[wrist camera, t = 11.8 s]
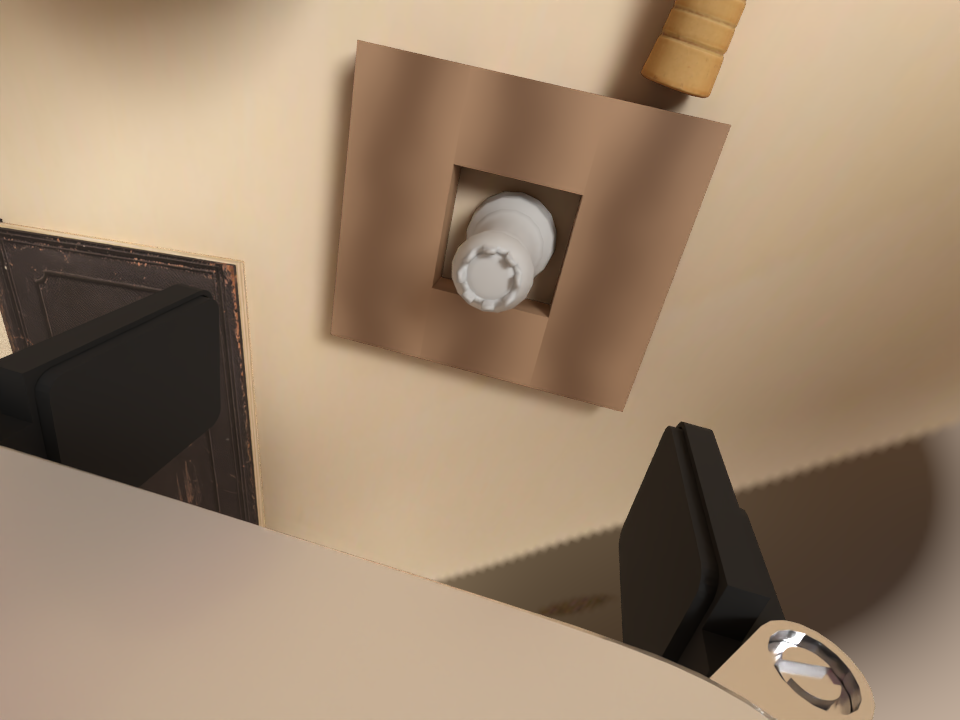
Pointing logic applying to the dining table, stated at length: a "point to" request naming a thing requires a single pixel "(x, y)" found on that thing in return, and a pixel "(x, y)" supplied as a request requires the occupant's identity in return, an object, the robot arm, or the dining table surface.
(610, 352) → the board
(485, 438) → the dining table surface
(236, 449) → the hardcover book
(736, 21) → the kendama
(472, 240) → the rook chess piece
